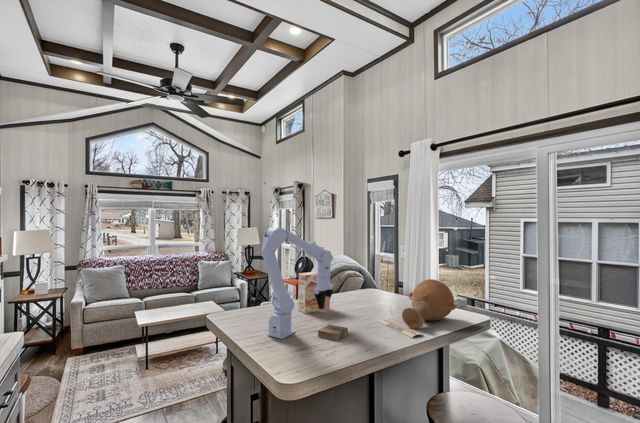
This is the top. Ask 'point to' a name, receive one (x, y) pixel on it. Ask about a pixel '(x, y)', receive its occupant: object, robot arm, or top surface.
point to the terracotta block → (325, 305)
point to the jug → (428, 303)
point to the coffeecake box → (307, 292)
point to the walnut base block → (333, 332)
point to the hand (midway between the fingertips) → (323, 307)
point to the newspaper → (398, 328)
